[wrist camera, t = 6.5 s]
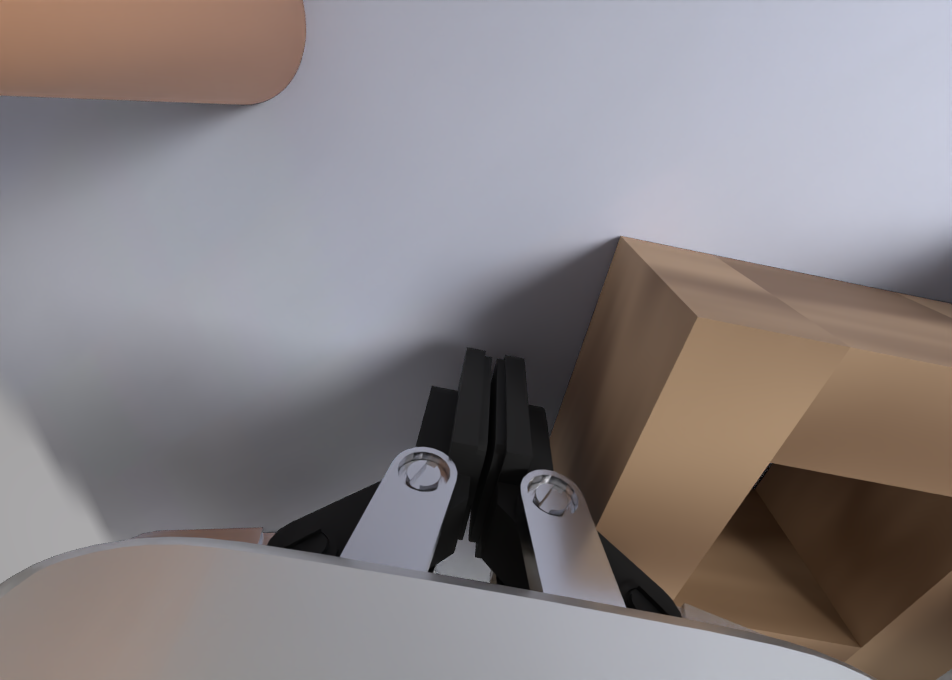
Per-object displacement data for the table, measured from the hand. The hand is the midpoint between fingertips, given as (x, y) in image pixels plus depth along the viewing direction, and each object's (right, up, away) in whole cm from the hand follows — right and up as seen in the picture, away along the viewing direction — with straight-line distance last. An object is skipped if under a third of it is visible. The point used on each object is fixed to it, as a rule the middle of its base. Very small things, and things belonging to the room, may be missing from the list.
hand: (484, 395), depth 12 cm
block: (+8, -1, +1) cm, 8 cm away
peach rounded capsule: (-6, +9, -3) cm, 11 cm away
